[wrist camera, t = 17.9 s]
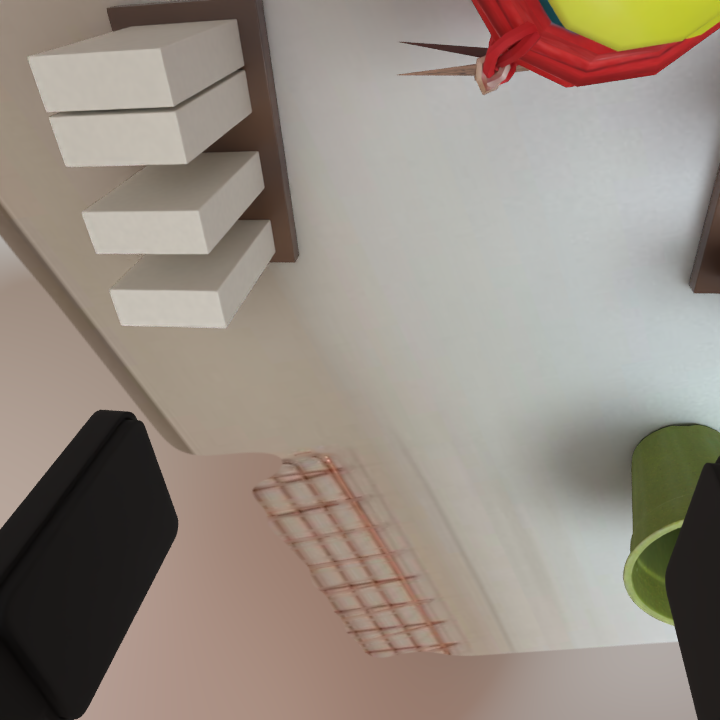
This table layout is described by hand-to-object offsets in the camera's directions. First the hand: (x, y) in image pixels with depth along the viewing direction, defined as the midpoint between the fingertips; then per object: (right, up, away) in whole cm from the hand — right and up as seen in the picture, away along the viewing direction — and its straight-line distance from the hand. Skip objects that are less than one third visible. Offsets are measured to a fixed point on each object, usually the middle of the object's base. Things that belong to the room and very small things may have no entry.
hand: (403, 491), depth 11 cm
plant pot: (+24, -5, +38) cm, 45 cm away
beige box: (-10, +15, +29) cm, 34 cm away
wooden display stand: (-10, +16, +29) cm, 35 cm away
